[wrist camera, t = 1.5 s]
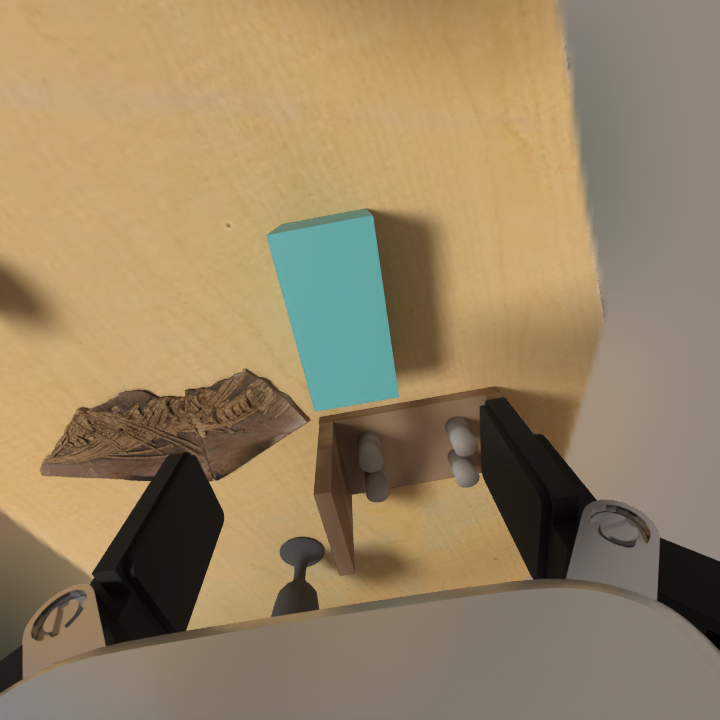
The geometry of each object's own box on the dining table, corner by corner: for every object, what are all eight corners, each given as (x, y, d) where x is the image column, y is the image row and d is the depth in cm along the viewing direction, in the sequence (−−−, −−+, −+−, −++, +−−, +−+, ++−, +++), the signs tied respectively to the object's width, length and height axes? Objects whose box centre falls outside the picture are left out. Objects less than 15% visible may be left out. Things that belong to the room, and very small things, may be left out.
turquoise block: (281, 224, 25) (266, 235, 20) (365, 208, 25) (372, 215, 20) (319, 371, 31) (314, 411, 25) (388, 359, 30) (398, 397, 25)
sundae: (259, 554, 40) (219, 741, 27) (298, 522, 38) (275, 707, 25) (305, 578, 42) (289, 761, 29) (343, 549, 40) (345, 730, 27)
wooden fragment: (292, 359, 30) (290, 365, 29) (321, 458, 35) (320, 466, 34) (0, 411, 31) (-11, 418, 30) (68, 500, 36) (60, 509, 35)
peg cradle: (339, 488, 36) (339, 575, 28) (319, 417, 32) (312, 495, 24) (495, 462, 36) (541, 543, 28) (495, 386, 32) (548, 455, 24)
